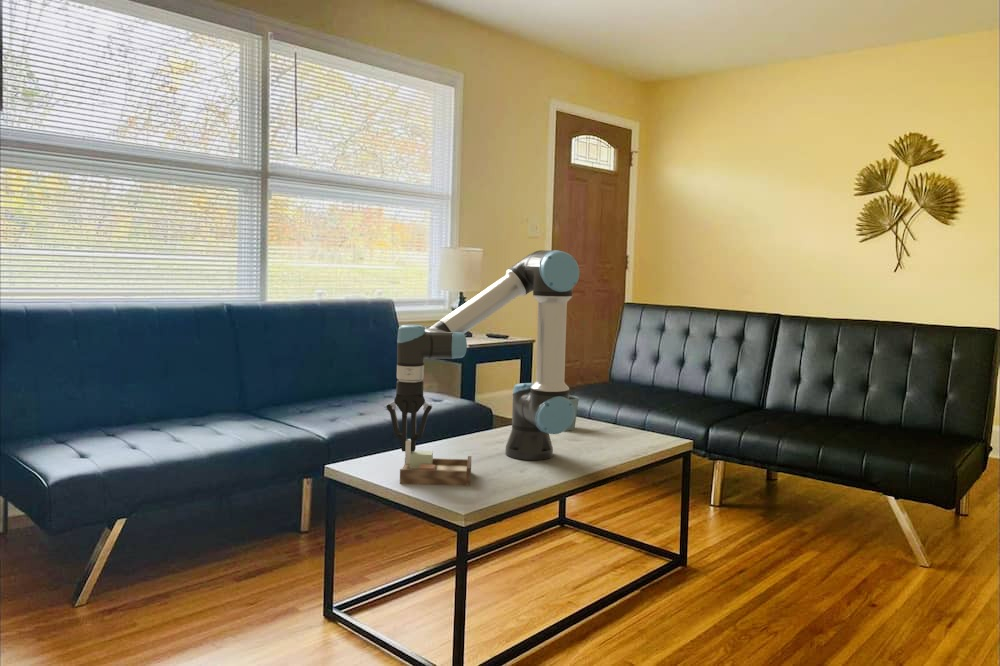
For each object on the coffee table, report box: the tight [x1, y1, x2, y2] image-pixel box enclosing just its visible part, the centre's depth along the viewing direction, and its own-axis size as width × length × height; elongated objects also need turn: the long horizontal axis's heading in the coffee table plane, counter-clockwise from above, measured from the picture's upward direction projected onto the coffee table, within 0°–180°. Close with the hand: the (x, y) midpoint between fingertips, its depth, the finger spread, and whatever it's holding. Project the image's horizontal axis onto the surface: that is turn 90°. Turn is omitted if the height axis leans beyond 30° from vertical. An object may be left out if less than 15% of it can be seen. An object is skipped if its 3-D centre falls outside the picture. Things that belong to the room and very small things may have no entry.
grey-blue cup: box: [564, 394, 580, 432], centre depth 286 cm, size 10×10×12 cm
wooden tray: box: [399, 455, 472, 487], centre depth 215 cm, size 19×13×5 cm
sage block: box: [410, 450, 434, 469], centre depth 218 cm, size 6×4×4 cm
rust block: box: [419, 464, 435, 470], centre depth 213 cm, size 4×4×4 cm
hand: (408, 462), depth 218 cm, fingers closed
